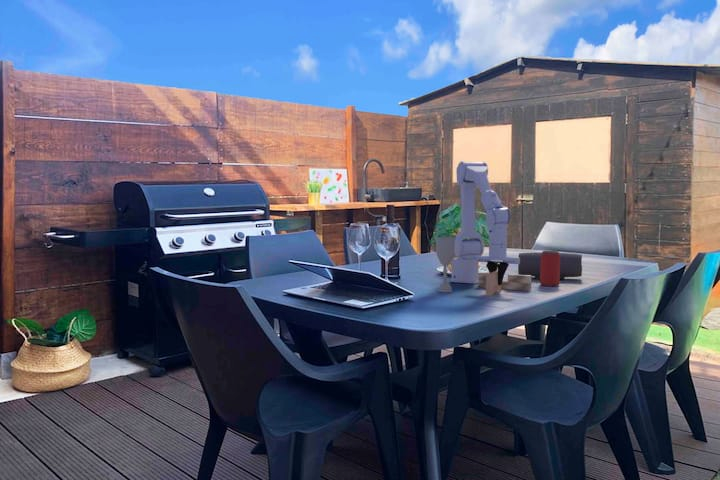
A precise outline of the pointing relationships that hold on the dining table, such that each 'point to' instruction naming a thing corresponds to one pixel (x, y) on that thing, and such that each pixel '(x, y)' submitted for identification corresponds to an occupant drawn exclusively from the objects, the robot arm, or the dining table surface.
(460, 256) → the robot arm
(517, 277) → the slotted rail
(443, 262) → the chalice
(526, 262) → the bluetooth speaker
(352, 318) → the dining table surface
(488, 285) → the tan thin board
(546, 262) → the beer can
